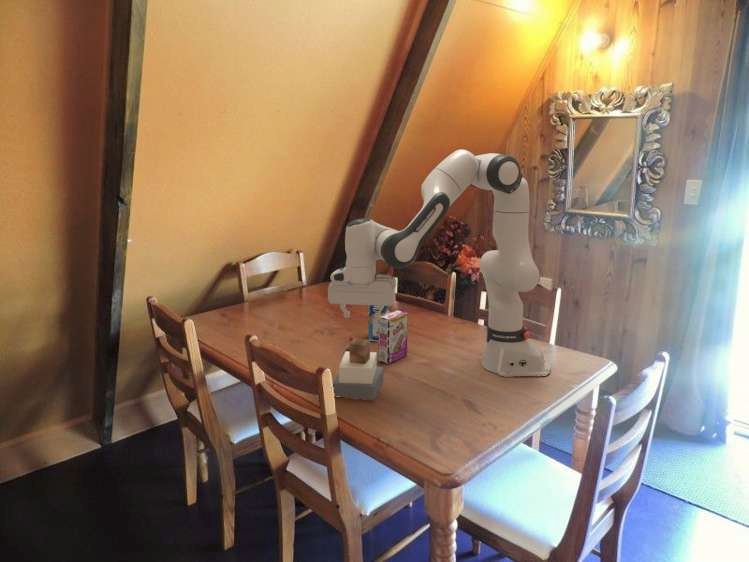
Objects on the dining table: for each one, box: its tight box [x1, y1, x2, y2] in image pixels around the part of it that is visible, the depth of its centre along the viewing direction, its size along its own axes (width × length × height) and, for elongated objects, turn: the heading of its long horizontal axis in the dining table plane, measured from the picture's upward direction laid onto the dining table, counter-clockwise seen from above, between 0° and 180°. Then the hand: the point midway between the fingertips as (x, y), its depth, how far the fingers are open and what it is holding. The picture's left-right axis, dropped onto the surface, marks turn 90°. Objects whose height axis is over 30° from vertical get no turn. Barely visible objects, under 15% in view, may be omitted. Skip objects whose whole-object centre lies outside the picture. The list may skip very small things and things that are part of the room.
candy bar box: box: [377, 309, 409, 365], centre depth 195 cm, size 11×5×16 cm, turn 141°
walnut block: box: [348, 338, 371, 364], centre depth 170 cm, size 5×5×6 cm
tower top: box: [338, 351, 378, 384], centre depth 172 cm, size 10×13×5 cm
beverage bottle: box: [367, 305, 391, 343], centre depth 214 cm, size 8×8×20 cm
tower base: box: [332, 366, 385, 401], centre depth 173 cm, size 13×15×5 cm
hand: (362, 318), depth 168 cm, fingers open, 8 cm apart
